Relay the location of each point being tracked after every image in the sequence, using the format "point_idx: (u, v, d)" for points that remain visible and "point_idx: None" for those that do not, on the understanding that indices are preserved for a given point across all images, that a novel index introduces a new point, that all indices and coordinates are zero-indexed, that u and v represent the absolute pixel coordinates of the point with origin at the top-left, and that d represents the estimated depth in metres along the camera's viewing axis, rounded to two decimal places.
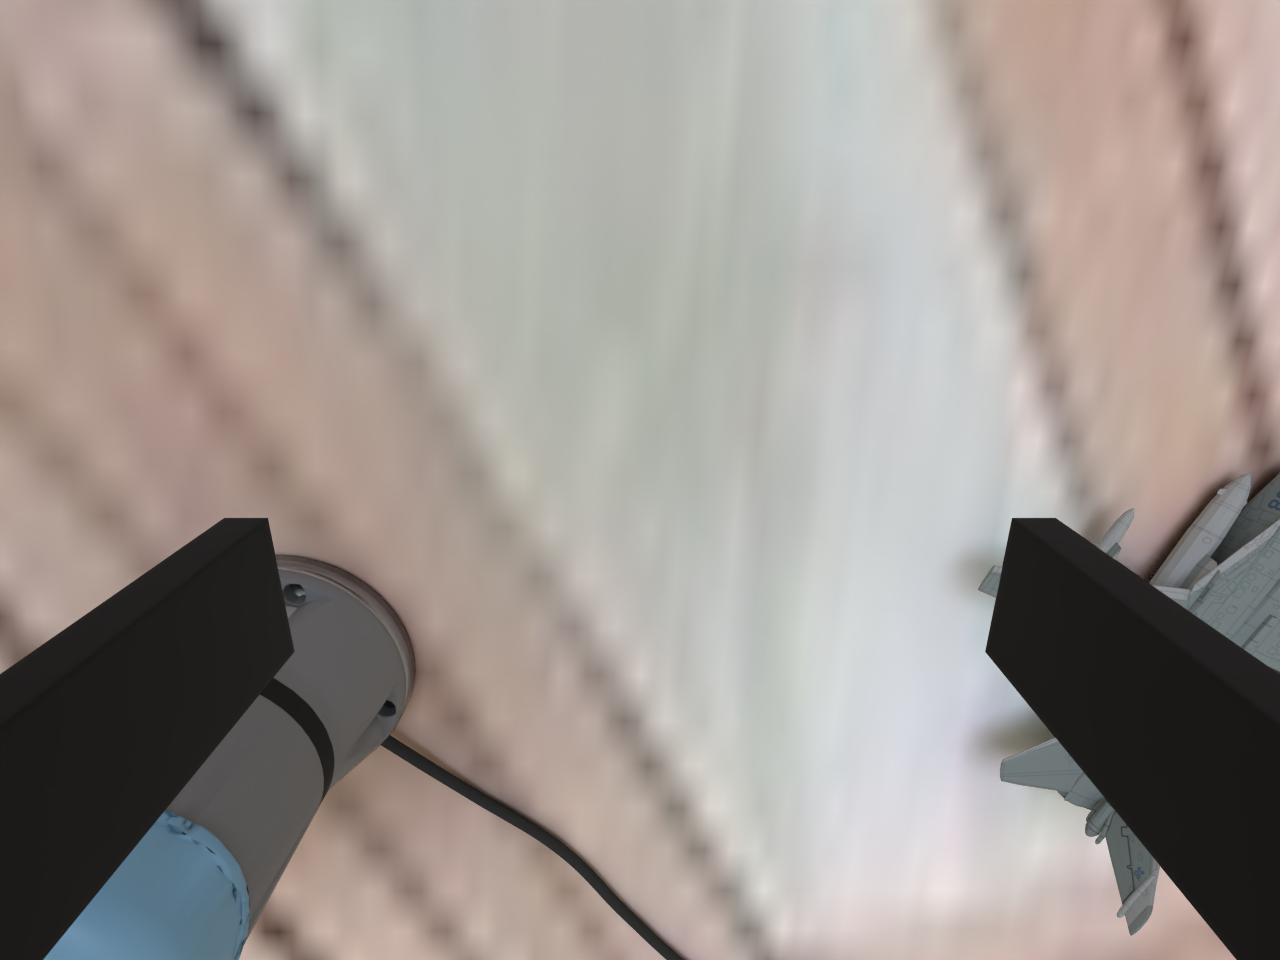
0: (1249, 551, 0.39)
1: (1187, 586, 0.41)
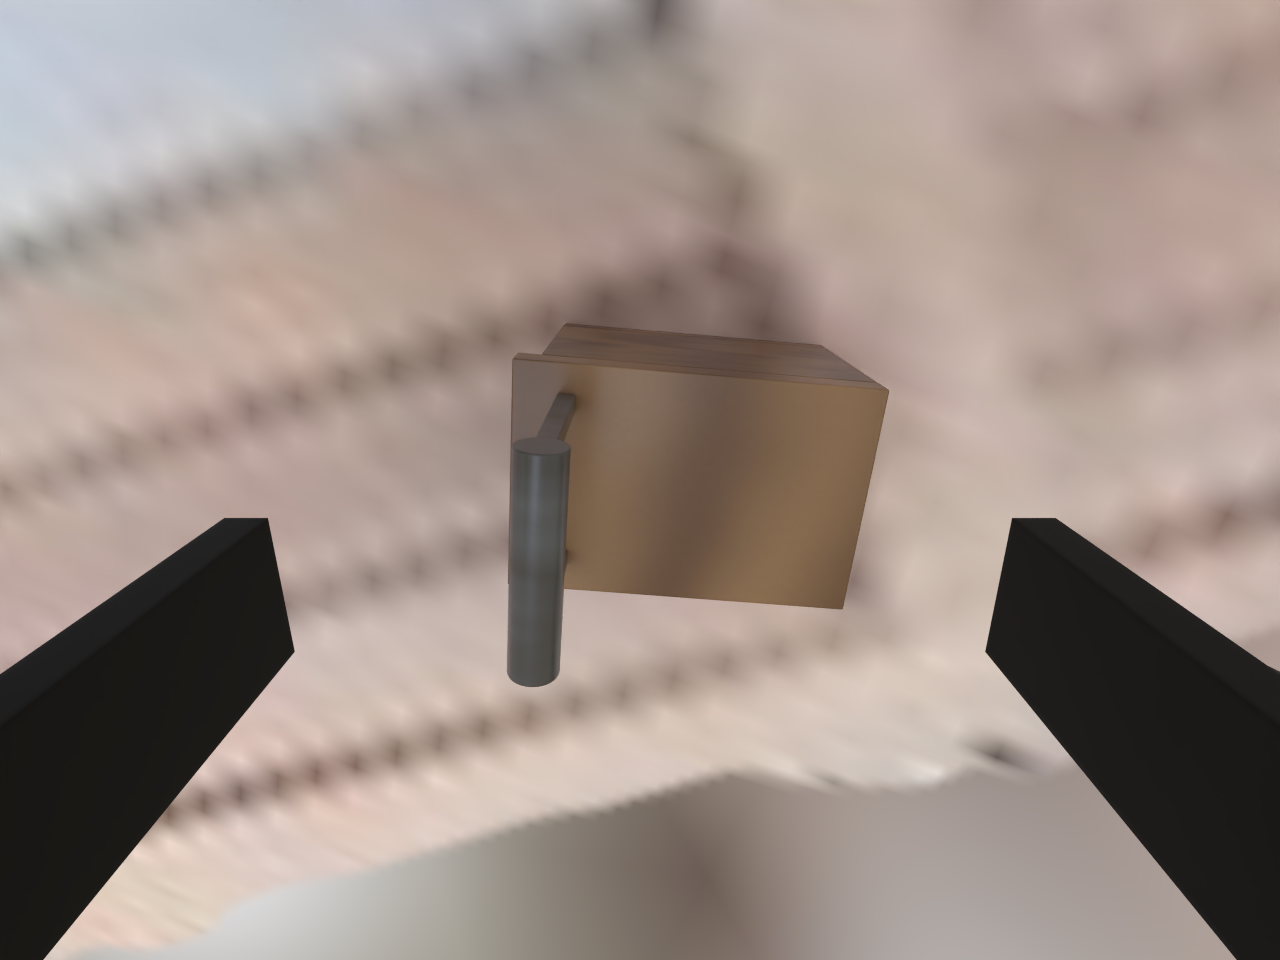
0: None
1: None
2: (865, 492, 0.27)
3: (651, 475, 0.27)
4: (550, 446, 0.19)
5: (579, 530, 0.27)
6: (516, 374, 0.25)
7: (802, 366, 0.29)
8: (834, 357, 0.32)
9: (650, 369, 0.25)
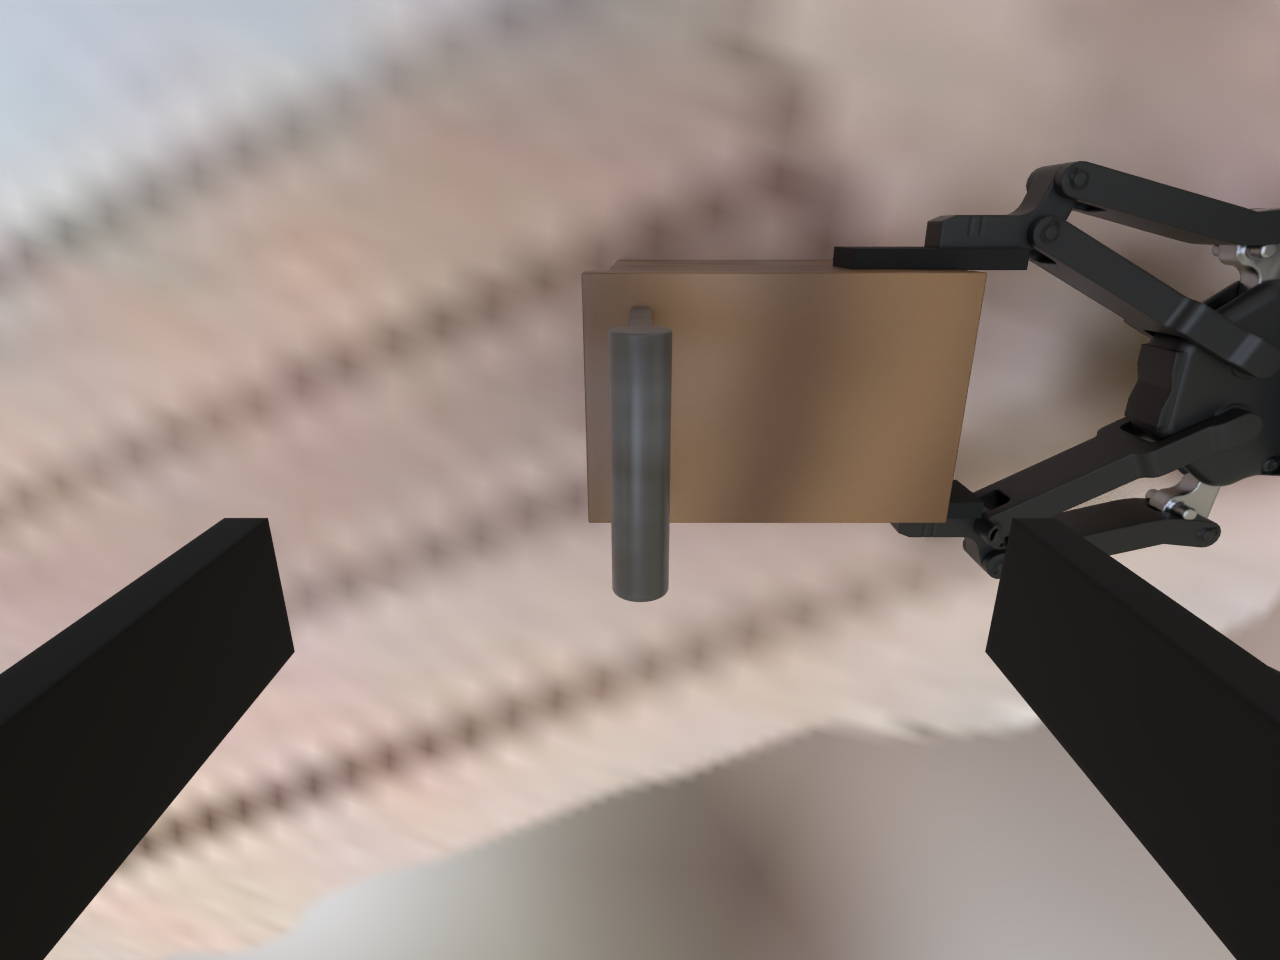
0: None
1: None
2: (965, 390, 0.25)
3: (735, 390, 0.25)
4: (650, 329, 0.17)
5: None
6: (586, 290, 0.24)
7: None
8: None
9: (728, 272, 0.24)
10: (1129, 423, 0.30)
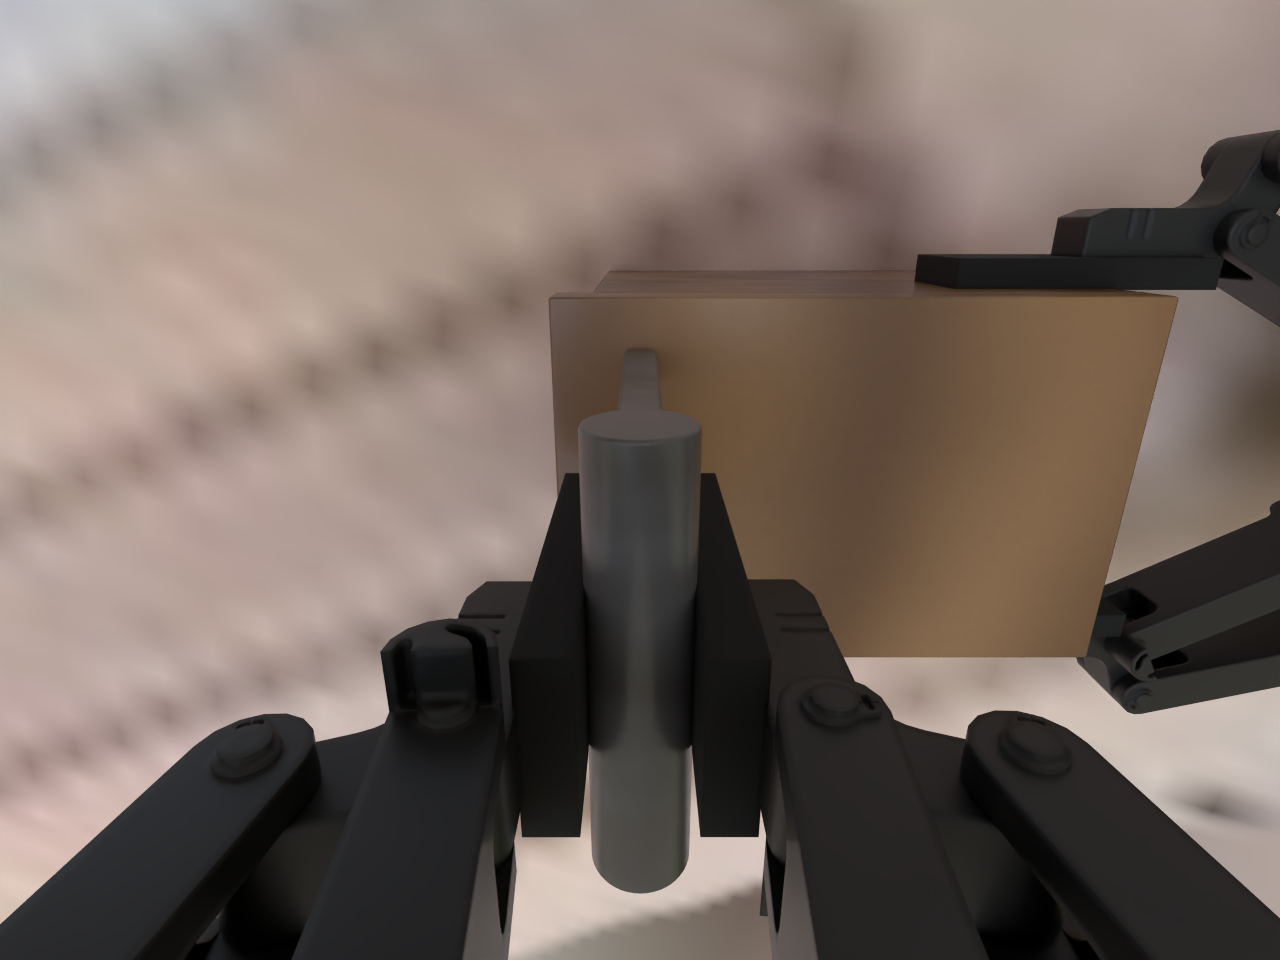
0: None
1: None
2: (1131, 472, 0.17)
3: (782, 472, 0.17)
4: (659, 423, 0.09)
5: None
6: (556, 324, 0.15)
7: None
8: None
9: (776, 297, 0.15)
10: None
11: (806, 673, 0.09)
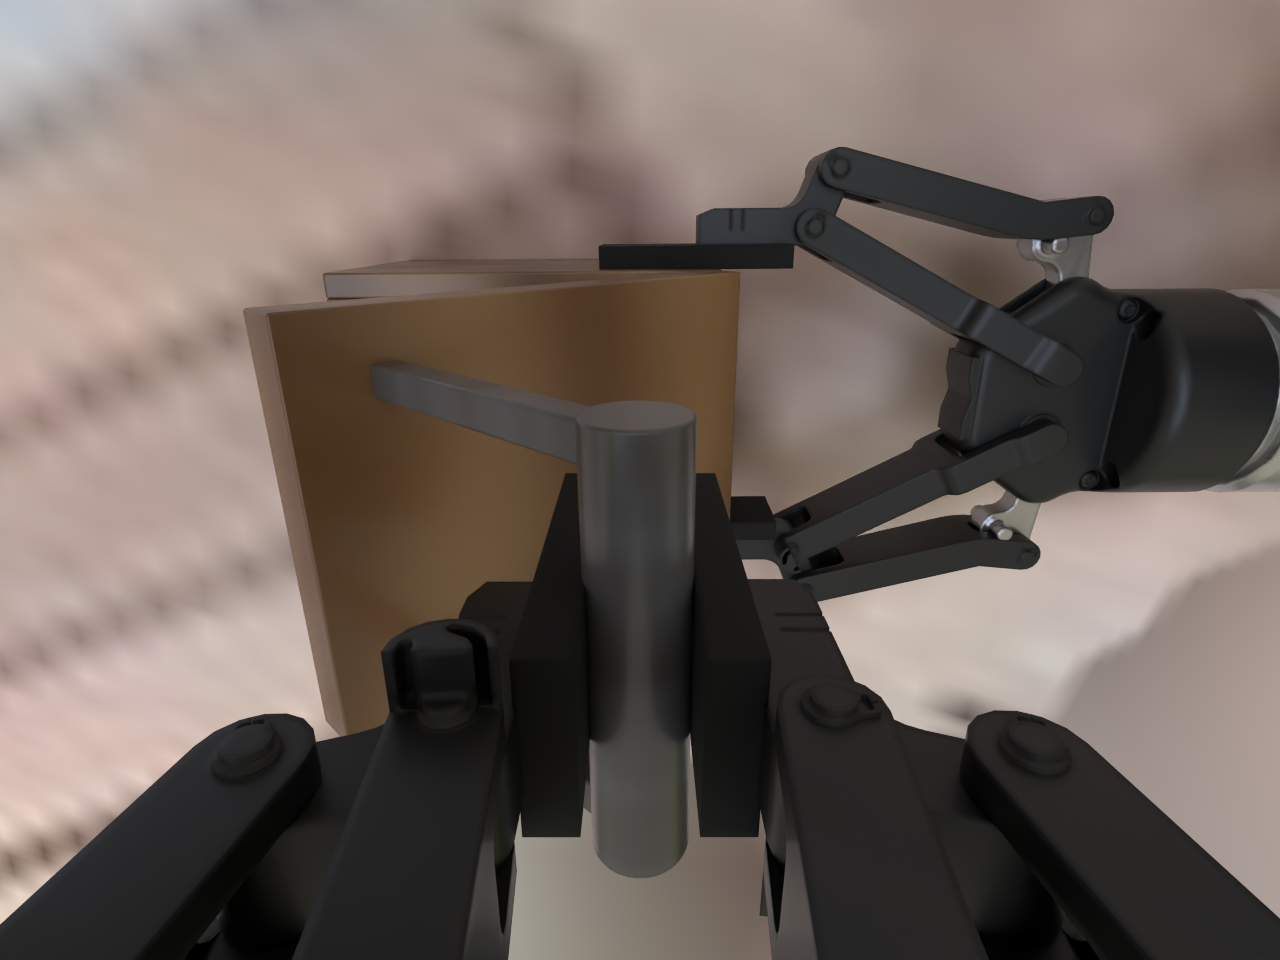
0: None
1: None
2: (733, 401, 0.23)
3: (531, 462, 0.17)
4: (650, 410, 0.09)
5: (447, 592, 0.16)
6: (280, 346, 0.12)
7: None
8: None
9: (502, 292, 0.15)
10: None
11: (806, 673, 0.09)
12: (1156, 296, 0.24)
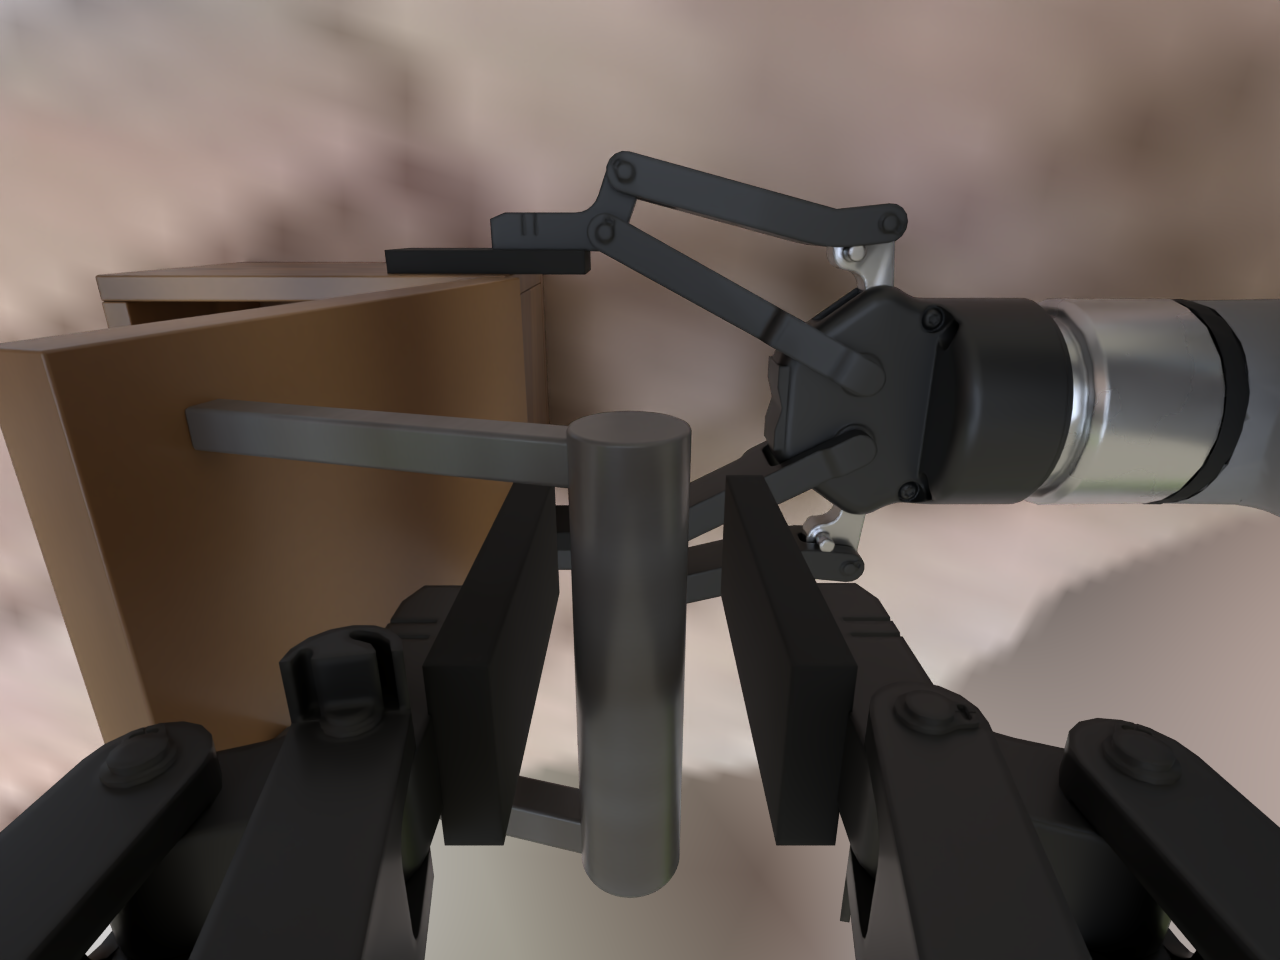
0: None
1: None
2: (526, 408, 0.22)
3: (364, 500, 0.15)
4: (636, 420, 0.09)
5: None
6: (67, 394, 0.09)
7: None
8: None
9: (317, 308, 0.13)
10: None
11: (884, 679, 0.09)
12: (960, 305, 0.23)
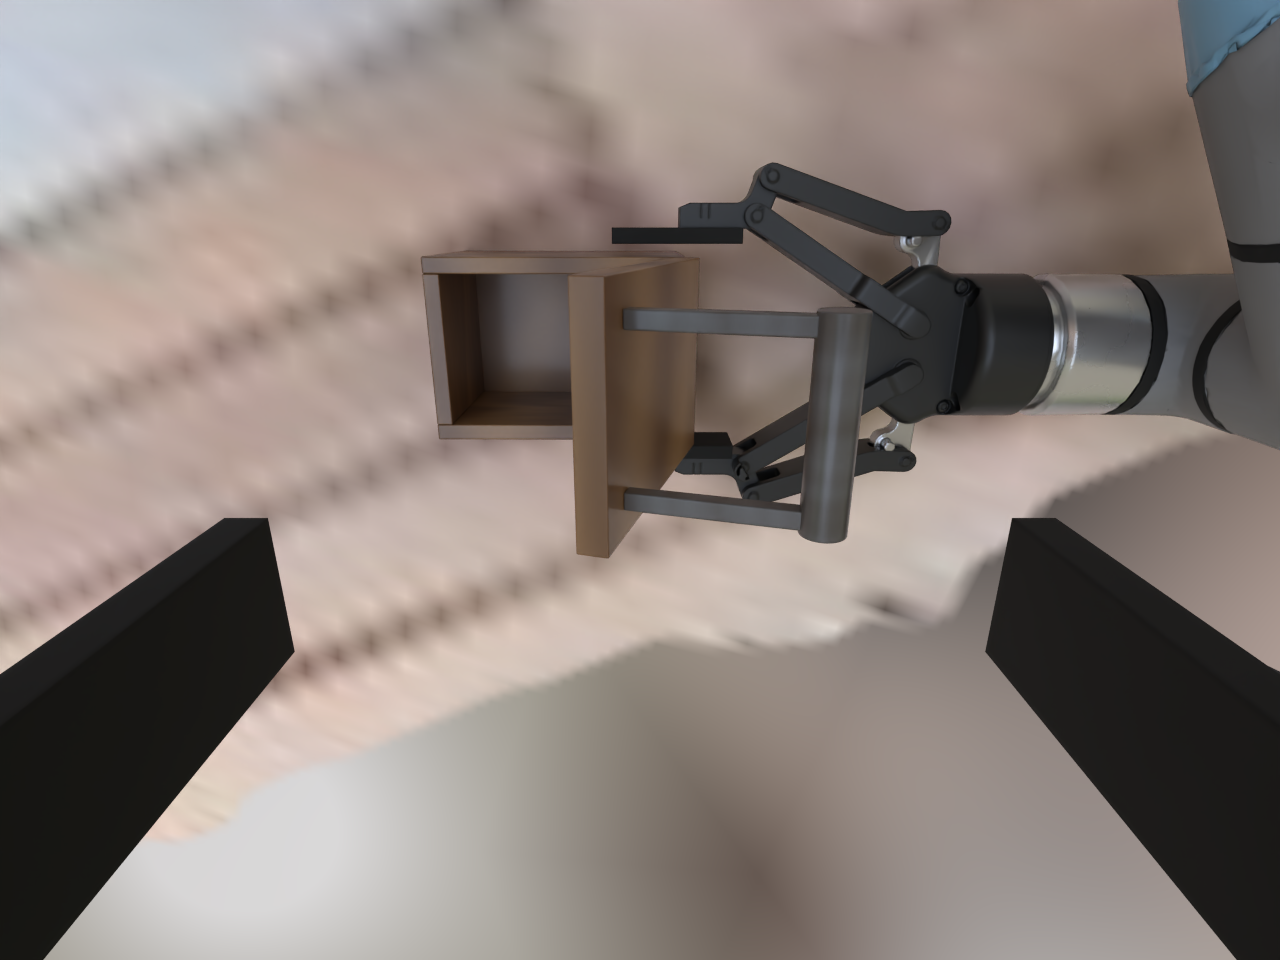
0: None
1: None
2: (696, 344, 0.34)
3: (652, 376, 0.27)
4: (846, 309, 0.21)
5: (632, 460, 0.25)
6: (605, 295, 0.21)
7: (635, 255, 0.36)
8: (674, 253, 0.39)
9: (647, 267, 0.25)
10: None
11: None
12: (980, 278, 0.35)
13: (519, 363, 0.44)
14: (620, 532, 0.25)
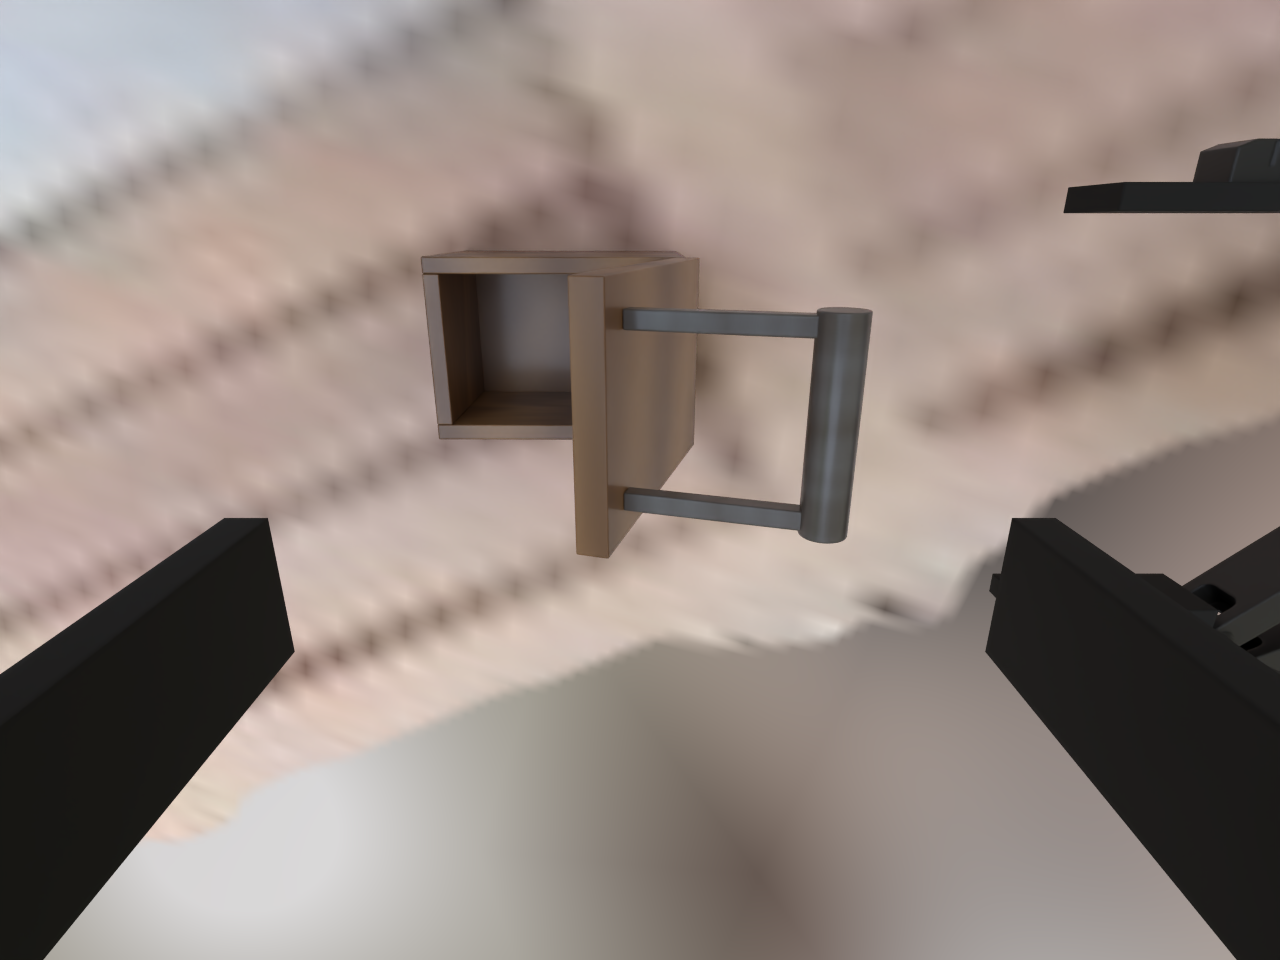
0: None
1: None
2: (696, 344, 0.34)
3: (652, 376, 0.27)
4: (846, 309, 0.21)
5: (632, 460, 0.25)
6: (605, 295, 0.21)
7: (635, 255, 0.36)
8: (674, 253, 0.39)
9: (647, 267, 0.25)
10: None
11: None
12: None
13: (519, 363, 0.44)
14: (620, 532, 0.25)
